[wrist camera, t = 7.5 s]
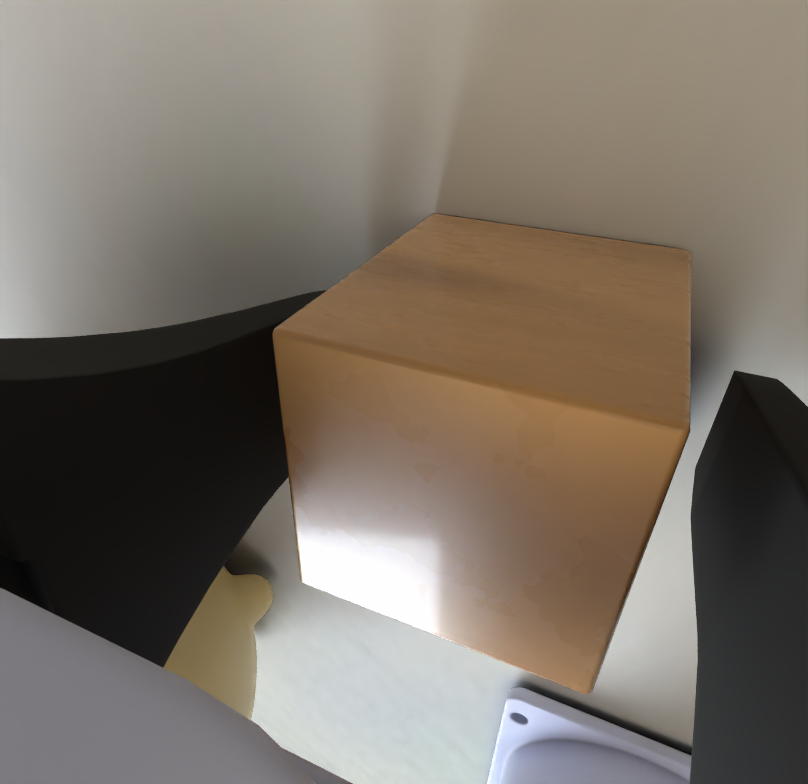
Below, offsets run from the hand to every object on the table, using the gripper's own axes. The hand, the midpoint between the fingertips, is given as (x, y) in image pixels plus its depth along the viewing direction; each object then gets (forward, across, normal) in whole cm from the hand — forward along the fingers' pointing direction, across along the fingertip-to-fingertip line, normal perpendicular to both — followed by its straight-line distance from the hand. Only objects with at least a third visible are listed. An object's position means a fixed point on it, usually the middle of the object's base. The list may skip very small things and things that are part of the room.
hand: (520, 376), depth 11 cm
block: (+1, 0, 0) cm, 1 cm away
